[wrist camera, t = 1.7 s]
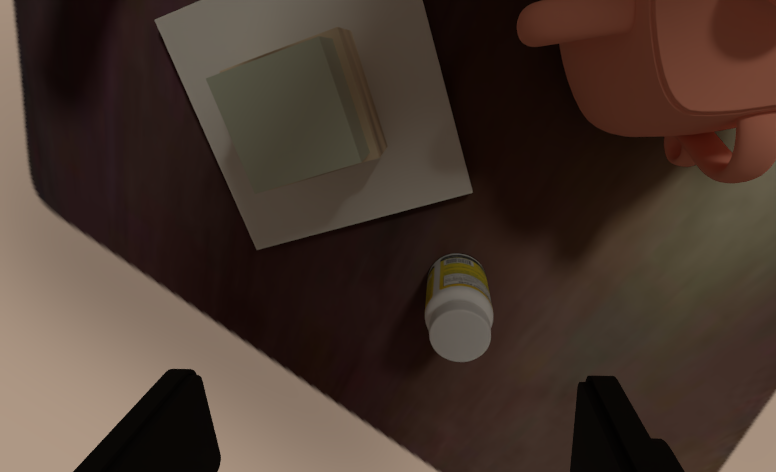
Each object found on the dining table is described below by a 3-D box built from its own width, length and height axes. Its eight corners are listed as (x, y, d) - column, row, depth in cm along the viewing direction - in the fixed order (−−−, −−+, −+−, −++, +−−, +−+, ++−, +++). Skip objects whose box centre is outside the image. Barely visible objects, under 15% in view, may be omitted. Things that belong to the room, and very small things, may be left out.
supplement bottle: (452, 313, 38) (453, 379, 30) (415, 274, 37) (407, 331, 29) (498, 282, 36) (512, 342, 28) (461, 240, 35) (465, 291, 28)
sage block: (332, 38, 26) (318, 36, 24) (369, 152, 29) (361, 162, 26) (229, 76, 28) (205, 78, 25) (272, 181, 30) (254, 194, 27)
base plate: (402, -79, 28) (400, -84, 27) (472, 188, 34) (472, 192, 33) (162, 21, 32) (154, 19, 31) (261, 245, 38) (256, 250, 37)
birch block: (351, 30, 30) (337, 26, 26) (387, 146, 32) (379, 157, 29) (246, 69, 32) (219, 71, 28) (288, 176, 34) (269, 190, 30)
